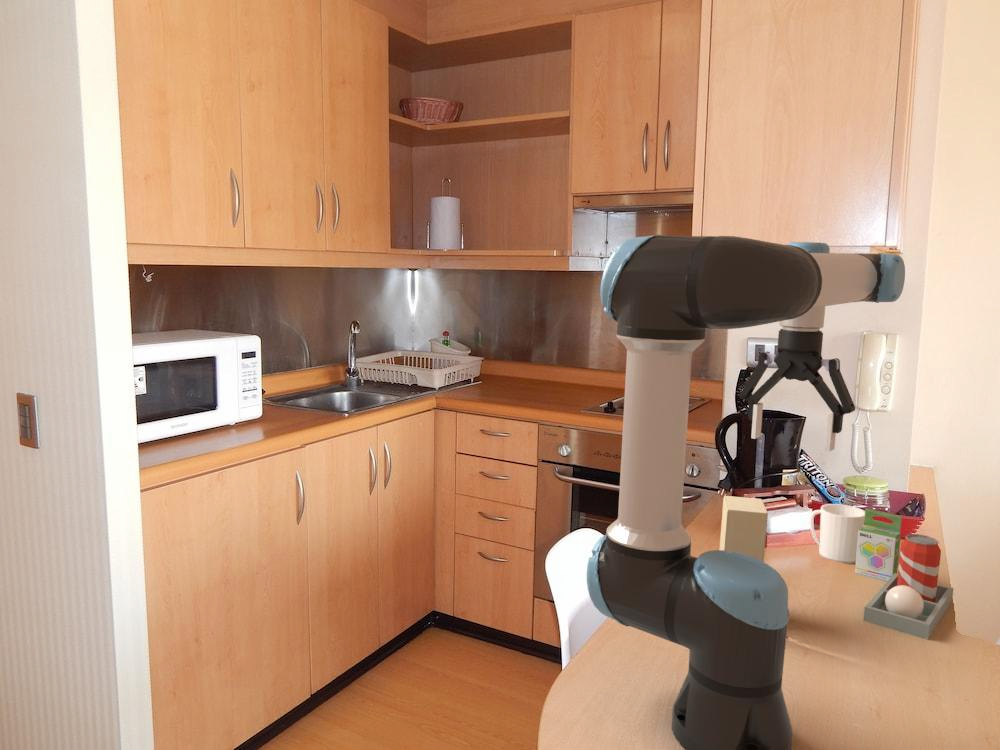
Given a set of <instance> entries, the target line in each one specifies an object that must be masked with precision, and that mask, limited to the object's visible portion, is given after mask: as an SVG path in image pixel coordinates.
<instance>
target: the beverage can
mask: <svg viewBox="0 0 1000 750" xmlns="http://www.w3.org/2000/svg"><path fill="white" fill-rule="evenodd" d="M941 554H942V550H941V548H940V546H939V541H938V540H937V539H936V538H934V537H932V536H929V535H925V534H919V533H911V534H907V535H906V536H905V539H904V540H903V542H902V543H900V550H899V560H898V569H897V574H898V580H897V586H899V585H905V586H909V587H912V588H913V589H915V590H916V591H917V592H918V593H919V594H920V595H921V597H922V599H923V600H926V601H930V602H934V603H935V600H936V591H937V584H939V583H938V581H939V573H940V564H941V563H940V562H941Z"/></svg>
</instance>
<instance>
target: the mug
mask: <svg viewBox="0 0 1000 750" xmlns="http://www.w3.org/2000/svg"><path fill="white" fill-rule="evenodd" d="M819 514H820V515H819ZM817 515H819V517H820V519H819V539H818V537H817V535H816V531H815V526H814V525H815V524H814V523H815V522H814V519H815V516H817ZM864 519H865V510H864V509H861V508H859V507H857V506H853V505H848V504H843V503H826V504H822V505H821V506H820V509H815V510H813V511H811V513H810V515H809V526H810V527H809V529H810V532H811V536H812V537H813V540H814V542H815V543H816V544H817V545H818V550H819V551H818V554H819V556H820V557H821V558H823V559H826V560H828V561H833V562H837V563H841V564H845V565H850V564H851V565H852V564H853V565H854V564H856V553H857V541H858V531H859V530H860V529H861V528H862V527H863V525H864Z"/></svg>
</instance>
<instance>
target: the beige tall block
mask: <svg viewBox="0 0 1000 750" xmlns="http://www.w3.org/2000/svg"><path fill="white" fill-rule="evenodd" d="M767 510H768V509H767V508H766V506H765V503H764V501H763V499H762V498H755V497H744V496H743V497H742V496H730V495H724V496H723V500H722V511H721V512H722V514H721V523H720V524H721V525H720V536H719V537H720V538H719V549H718V550H724V551H726V552H728V553H731V552H737V553H742V554H745V555H748V556H751V557H753V558H756V559H758V560H760V561H762V562H764V561H765V549H766V539H767V538H766V537H767V527H768V519H769V518H768V513H769V512H768V511H767ZM764 563H765V562H764Z"/></svg>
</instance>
